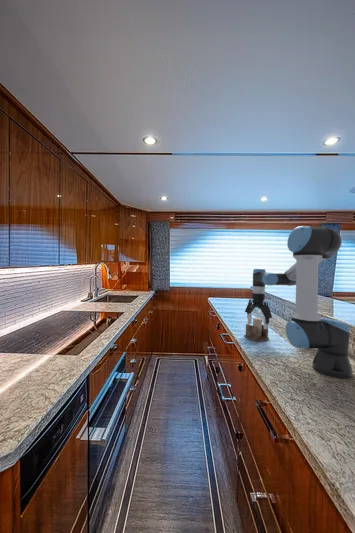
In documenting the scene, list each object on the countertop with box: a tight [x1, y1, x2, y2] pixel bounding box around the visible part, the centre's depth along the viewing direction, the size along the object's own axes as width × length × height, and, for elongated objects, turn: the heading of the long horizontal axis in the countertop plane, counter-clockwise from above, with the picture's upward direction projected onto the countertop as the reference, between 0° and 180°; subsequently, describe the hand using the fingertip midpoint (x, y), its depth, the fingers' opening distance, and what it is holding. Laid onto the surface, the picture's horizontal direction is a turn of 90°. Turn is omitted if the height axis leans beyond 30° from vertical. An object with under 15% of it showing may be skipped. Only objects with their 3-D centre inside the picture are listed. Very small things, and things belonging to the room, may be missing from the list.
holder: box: [244, 323, 270, 343], centre depth 148 cm, size 10×11×8 cm
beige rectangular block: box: [252, 317, 263, 338], centre depth 148 cm, size 5×5×11 cm
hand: (257, 326), depth 147 cm, fingers open, 13 cm apart
